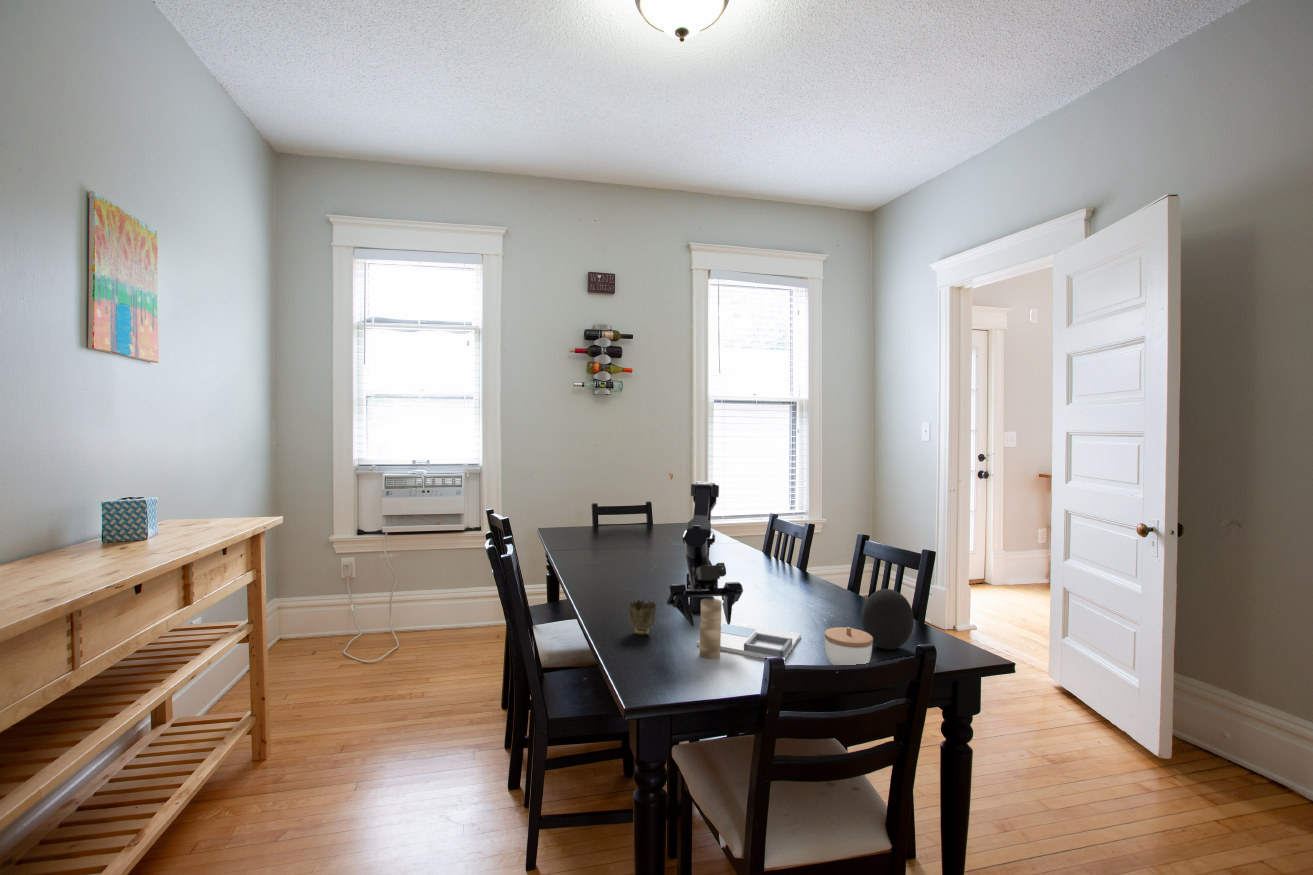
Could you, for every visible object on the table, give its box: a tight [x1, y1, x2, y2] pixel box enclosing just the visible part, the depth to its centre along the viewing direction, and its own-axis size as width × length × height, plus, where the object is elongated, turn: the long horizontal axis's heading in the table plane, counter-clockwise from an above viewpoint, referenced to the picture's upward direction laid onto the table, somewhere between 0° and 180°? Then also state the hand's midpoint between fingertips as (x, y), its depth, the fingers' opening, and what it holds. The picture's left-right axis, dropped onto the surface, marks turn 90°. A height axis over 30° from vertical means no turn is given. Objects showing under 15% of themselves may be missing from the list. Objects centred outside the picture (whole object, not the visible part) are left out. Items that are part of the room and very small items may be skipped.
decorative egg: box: [861, 588, 915, 650], centre depth 153 cm, size 12×12×15 cm
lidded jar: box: [824, 626, 873, 666], centre depth 140 cm, size 11×11×9 cm
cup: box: [628, 599, 657, 636], centre depth 160 cm, size 8×7×8 cm
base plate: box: [696, 620, 802, 660], centre depth 156 cm, size 22×19×2 cm
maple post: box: [699, 598, 723, 660], centre depth 146 cm, size 5×5×13 cm
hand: (711, 624), depth 146 cm, fingers open, 9 cm apart
